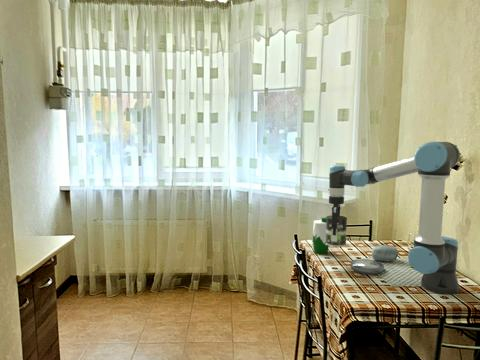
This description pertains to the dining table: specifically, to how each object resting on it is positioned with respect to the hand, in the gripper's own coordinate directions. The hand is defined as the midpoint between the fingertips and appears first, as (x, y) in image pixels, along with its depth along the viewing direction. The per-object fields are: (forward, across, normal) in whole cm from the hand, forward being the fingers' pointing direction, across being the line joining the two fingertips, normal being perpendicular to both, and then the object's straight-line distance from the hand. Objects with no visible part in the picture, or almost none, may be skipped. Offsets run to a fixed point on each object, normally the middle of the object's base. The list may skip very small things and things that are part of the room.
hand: (335, 238), depth 193 cm
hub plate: (+15, -1, +16) cm, 22 cm away
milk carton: (+14, -22, -10) cm, 28 cm away
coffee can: (+3, 0, 0) cm, 3 cm away
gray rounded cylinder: (+15, -19, +24) cm, 34 cm away
